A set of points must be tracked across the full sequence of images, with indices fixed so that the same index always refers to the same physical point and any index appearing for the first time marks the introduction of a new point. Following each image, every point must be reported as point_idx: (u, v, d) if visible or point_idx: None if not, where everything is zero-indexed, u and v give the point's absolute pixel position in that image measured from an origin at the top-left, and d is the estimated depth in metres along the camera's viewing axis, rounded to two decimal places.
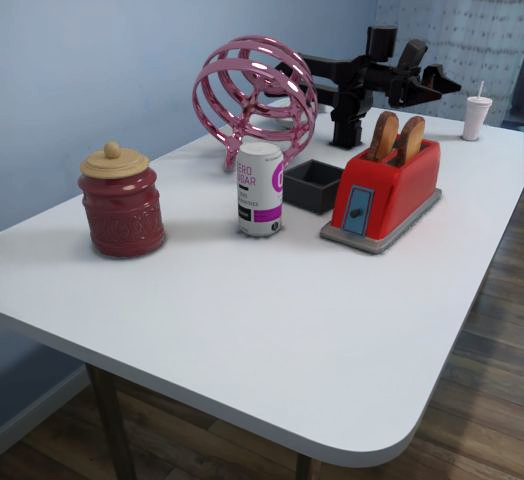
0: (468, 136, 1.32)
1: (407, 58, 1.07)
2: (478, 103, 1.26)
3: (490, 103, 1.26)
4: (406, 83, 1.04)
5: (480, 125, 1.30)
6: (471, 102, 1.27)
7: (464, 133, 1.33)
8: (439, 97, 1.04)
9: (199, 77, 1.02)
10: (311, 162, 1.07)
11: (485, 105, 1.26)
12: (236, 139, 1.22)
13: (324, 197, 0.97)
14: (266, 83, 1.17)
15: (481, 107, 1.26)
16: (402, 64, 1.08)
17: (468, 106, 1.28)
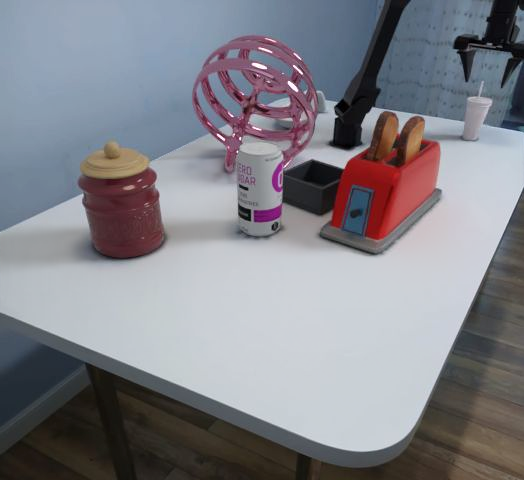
0: (468, 136, 1.32)
1: (515, 34, 1.20)
2: (478, 103, 1.26)
3: (490, 103, 1.26)
4: None
5: (480, 125, 1.30)
6: (471, 102, 1.27)
7: (464, 133, 1.33)
8: (502, 86, 1.23)
9: (199, 77, 1.02)
10: (311, 162, 1.07)
11: (485, 105, 1.26)
12: (236, 139, 1.22)
13: (324, 197, 0.97)
14: (266, 83, 1.17)
15: (481, 107, 1.26)
16: (515, 31, 1.19)
17: (468, 106, 1.28)
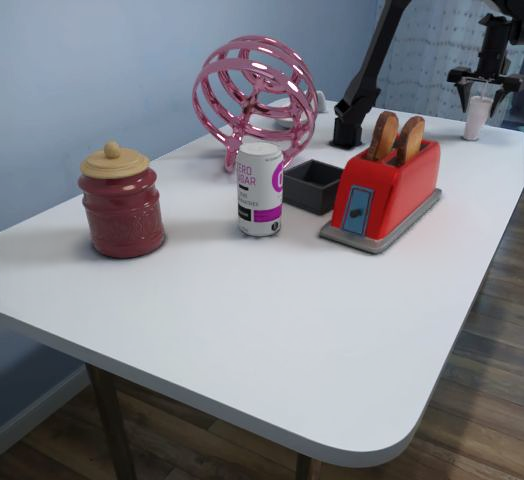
0: (469, 136, 1.32)
1: (506, 67, 1.25)
2: (481, 103, 1.25)
3: None
4: None
5: (481, 125, 1.30)
6: (474, 102, 1.26)
7: (465, 132, 1.33)
8: (491, 116, 1.28)
9: (199, 77, 1.02)
10: (311, 162, 1.07)
11: (488, 106, 1.26)
12: (236, 139, 1.22)
13: (324, 197, 0.97)
14: (266, 83, 1.17)
15: (484, 108, 1.26)
16: (506, 64, 1.24)
17: (471, 105, 1.28)
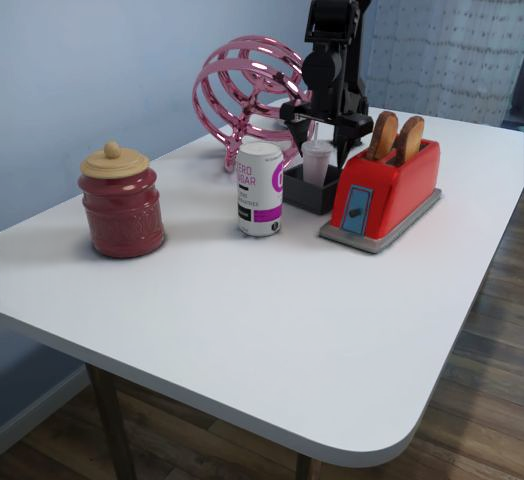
0: None
1: (352, 103, 0.95)
2: (312, 152, 0.96)
3: (329, 152, 0.97)
4: None
5: (321, 178, 1.01)
6: (305, 150, 0.97)
7: None
8: (339, 167, 0.97)
9: (199, 77, 1.02)
10: None
11: (322, 154, 0.97)
12: (236, 139, 1.22)
13: (324, 197, 0.97)
14: (266, 83, 1.17)
15: (317, 157, 0.97)
16: (350, 100, 0.93)
17: (303, 154, 0.99)
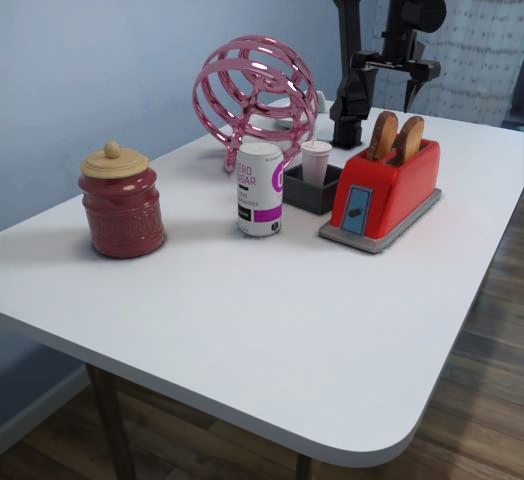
0: None
1: (419, 52, 1.04)
2: (311, 151, 0.97)
3: (327, 151, 0.97)
4: None
5: (320, 178, 1.01)
6: (303, 149, 0.97)
7: None
8: (406, 111, 1.07)
9: (199, 77, 1.02)
10: None
11: (320, 154, 0.97)
12: (236, 139, 1.22)
13: (324, 197, 0.97)
14: (266, 83, 1.17)
15: (316, 156, 0.97)
16: (418, 48, 1.03)
17: (302, 154, 0.99)
